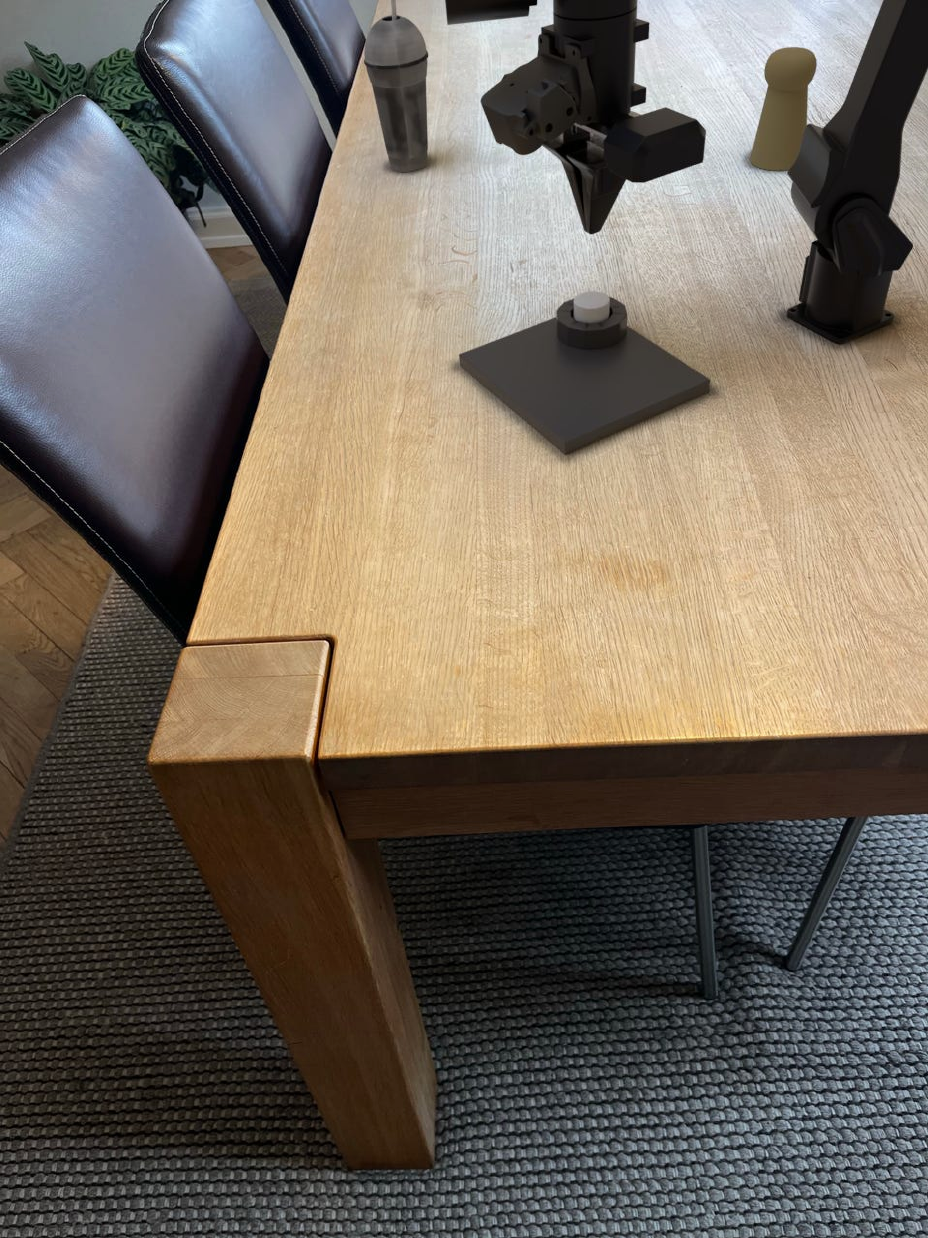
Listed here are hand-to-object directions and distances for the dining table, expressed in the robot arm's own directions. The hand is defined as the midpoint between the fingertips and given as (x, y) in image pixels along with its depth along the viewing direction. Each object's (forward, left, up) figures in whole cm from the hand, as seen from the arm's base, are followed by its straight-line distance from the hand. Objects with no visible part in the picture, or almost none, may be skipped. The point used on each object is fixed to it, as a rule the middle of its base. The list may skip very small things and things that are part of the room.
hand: (592, 231), depth 77 cm
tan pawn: (+19, -39, -10) cm, 45 cm away
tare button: (0, 0, -7) cm, 7 cm away
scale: (-4, +4, -10) cm, 11 cm away
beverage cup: (+47, -7, -10) cm, 49 cm away
